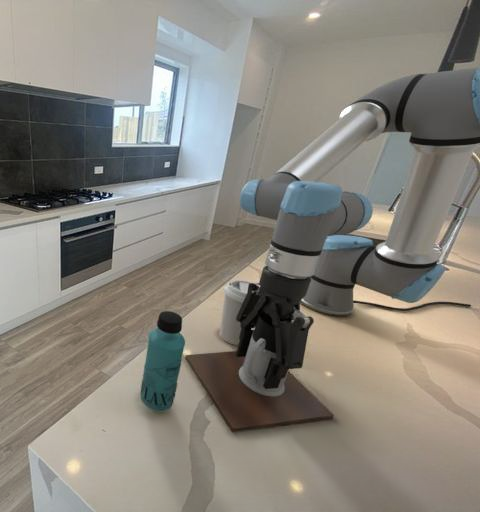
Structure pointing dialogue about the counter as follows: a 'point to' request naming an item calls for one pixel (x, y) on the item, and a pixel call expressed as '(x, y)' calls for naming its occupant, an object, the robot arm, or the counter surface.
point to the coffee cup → (232, 310)
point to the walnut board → (253, 395)
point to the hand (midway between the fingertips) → (255, 370)
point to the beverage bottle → (163, 362)
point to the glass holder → (261, 358)
